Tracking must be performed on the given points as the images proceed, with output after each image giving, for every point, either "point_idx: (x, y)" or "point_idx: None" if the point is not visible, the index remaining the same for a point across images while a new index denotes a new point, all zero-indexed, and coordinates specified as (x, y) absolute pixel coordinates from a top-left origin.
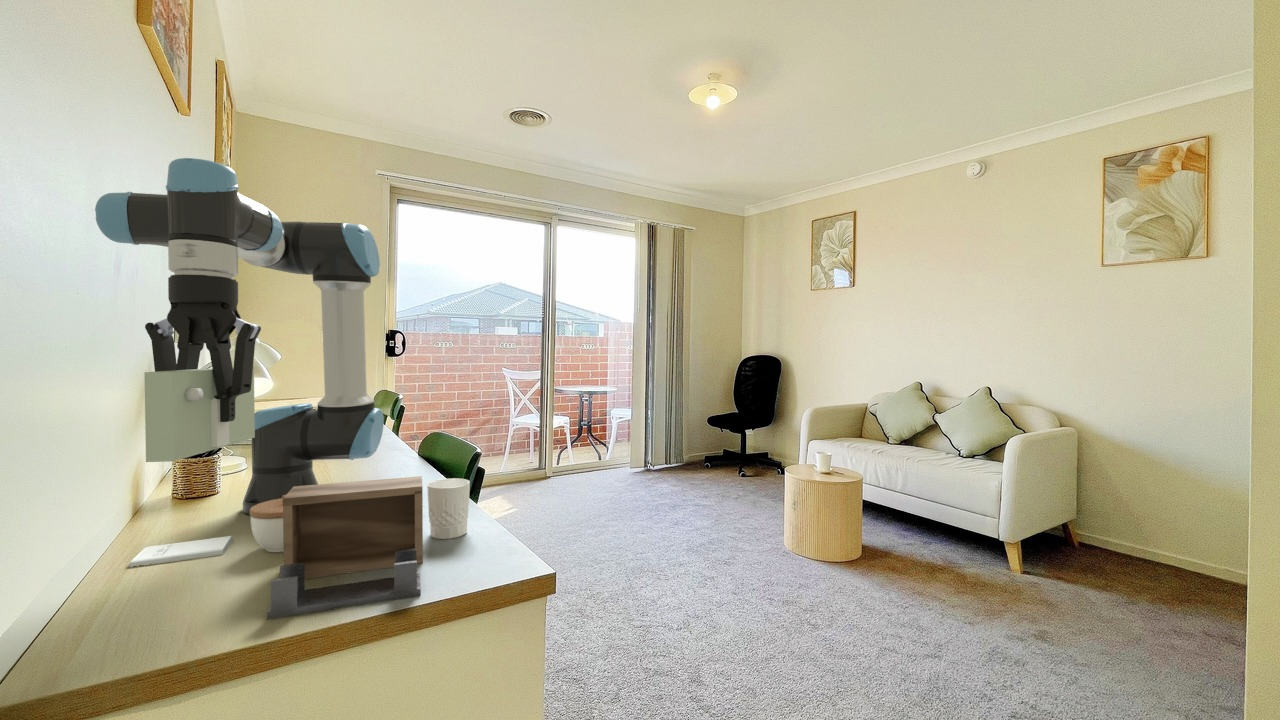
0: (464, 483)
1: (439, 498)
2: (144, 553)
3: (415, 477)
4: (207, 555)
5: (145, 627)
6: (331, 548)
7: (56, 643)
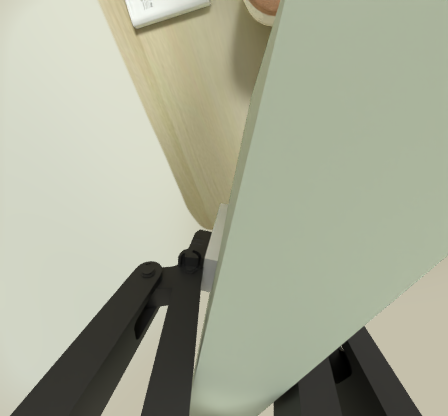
0: None
1: None
2: None
3: None
4: (196, 9)
5: (219, 179)
6: None
7: (184, 183)
